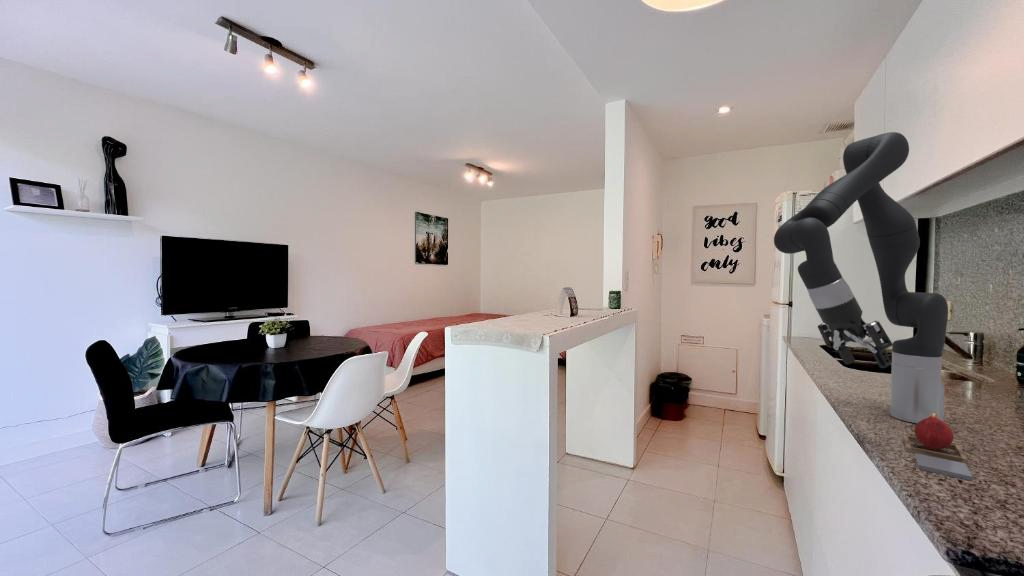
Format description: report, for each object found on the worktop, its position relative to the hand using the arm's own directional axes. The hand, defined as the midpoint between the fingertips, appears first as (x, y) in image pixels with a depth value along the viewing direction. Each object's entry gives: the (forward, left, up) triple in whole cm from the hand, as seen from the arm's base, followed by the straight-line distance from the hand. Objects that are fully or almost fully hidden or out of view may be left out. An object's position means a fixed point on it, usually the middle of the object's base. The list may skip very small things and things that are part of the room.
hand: (867, 364), depth 92 cm
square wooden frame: (-10, +5, -17) cm, 21 cm away
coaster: (-4, +13, -17) cm, 22 cm away
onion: (-10, +5, -18) cm, 21 cm away
